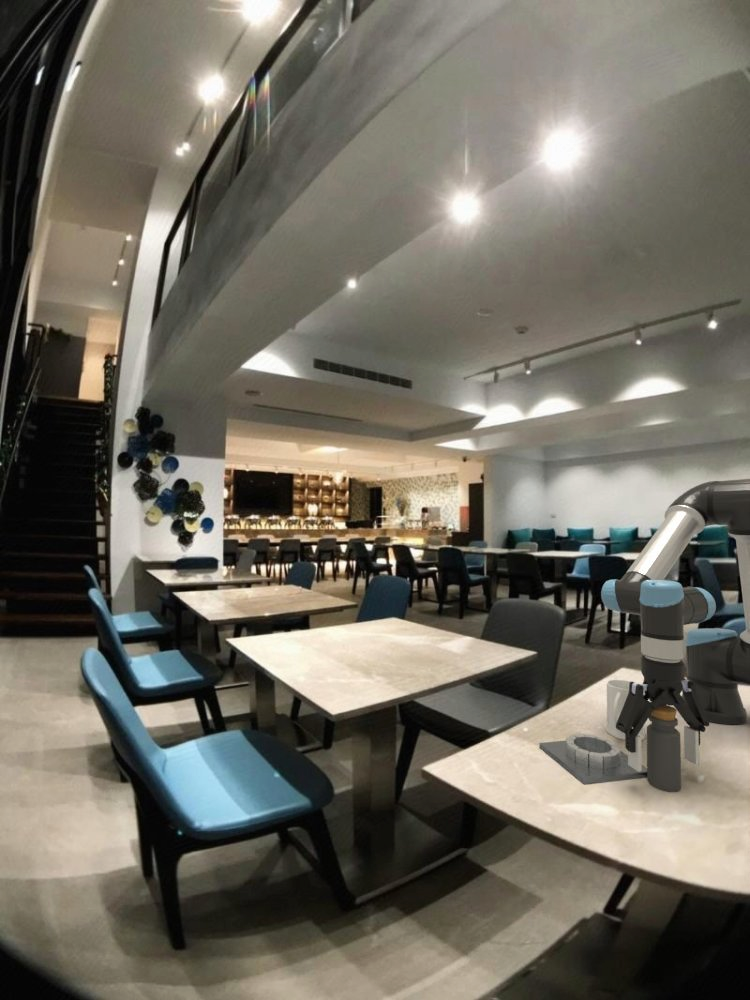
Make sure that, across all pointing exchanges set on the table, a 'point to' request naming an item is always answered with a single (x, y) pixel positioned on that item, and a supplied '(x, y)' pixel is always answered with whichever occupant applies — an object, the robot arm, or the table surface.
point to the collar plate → (589, 771)
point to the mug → (617, 706)
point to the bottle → (664, 750)
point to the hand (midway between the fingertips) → (663, 764)
